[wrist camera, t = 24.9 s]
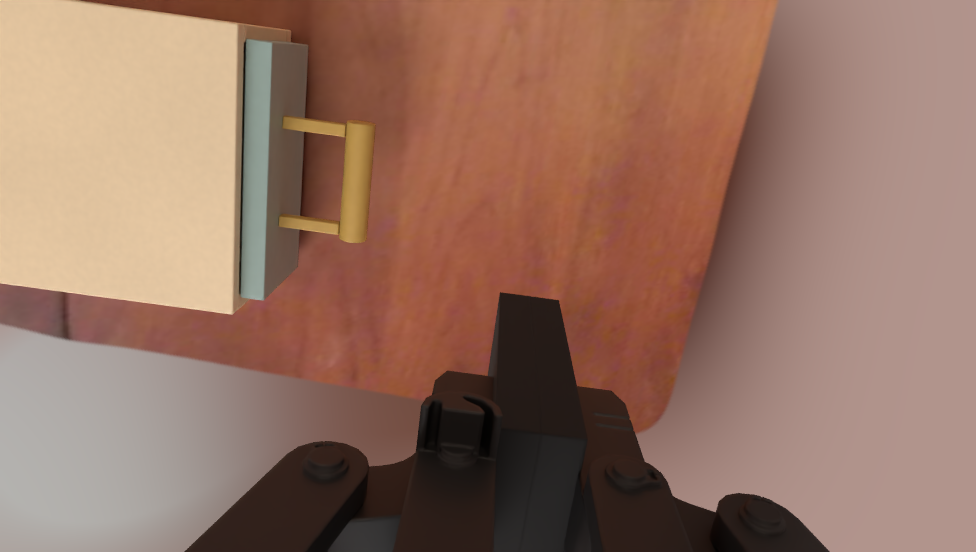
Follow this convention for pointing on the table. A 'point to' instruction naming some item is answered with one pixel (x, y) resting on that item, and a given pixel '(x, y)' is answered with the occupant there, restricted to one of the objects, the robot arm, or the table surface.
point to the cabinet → (122, 152)
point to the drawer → (289, 167)
